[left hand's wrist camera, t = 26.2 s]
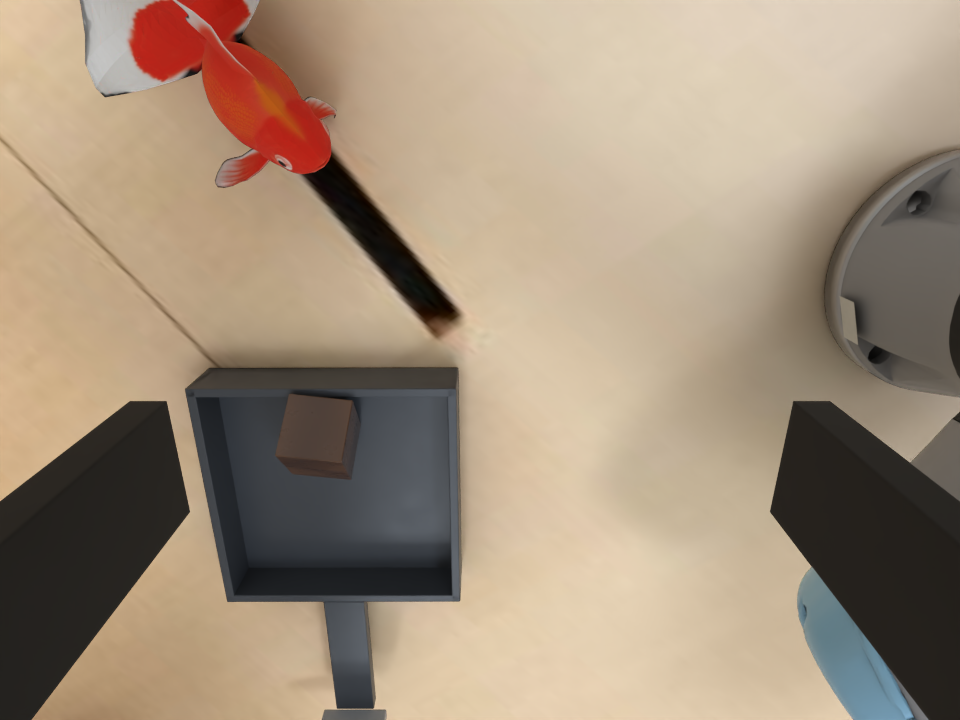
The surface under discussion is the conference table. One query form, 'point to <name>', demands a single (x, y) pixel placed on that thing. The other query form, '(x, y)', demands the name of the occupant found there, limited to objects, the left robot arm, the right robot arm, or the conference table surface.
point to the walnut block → (319, 437)
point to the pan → (335, 502)
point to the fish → (209, 76)
